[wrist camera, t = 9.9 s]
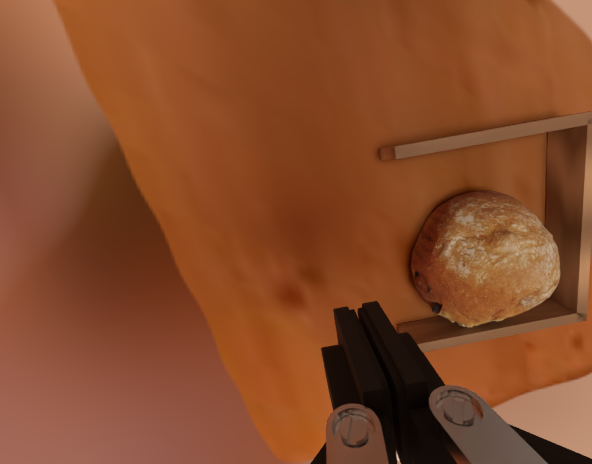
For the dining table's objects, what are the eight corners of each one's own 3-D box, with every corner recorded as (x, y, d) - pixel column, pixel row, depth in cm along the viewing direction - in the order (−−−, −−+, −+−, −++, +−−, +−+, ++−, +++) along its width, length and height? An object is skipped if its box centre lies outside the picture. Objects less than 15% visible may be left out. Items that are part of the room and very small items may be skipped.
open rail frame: (379, 148, 22) (394, 146, 19) (558, 116, 23) (600, 109, 20) (398, 332, 26) (413, 354, 23) (551, 302, 26) (586, 320, 23)
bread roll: (500, 244, 29) (607, 233, 21) (464, 343, 26) (573, 371, 18) (424, 184, 27) (513, 149, 19) (377, 284, 24) (458, 288, 17)
